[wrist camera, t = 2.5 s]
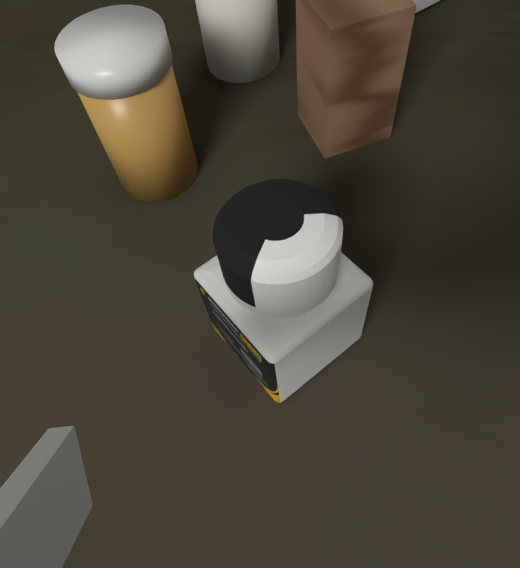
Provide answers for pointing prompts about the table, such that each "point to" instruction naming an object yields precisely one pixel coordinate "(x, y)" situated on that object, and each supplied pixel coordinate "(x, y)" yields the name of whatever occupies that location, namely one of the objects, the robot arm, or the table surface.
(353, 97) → the walnut block
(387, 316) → the table surface
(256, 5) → the white tub
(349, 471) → the table surface
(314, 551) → the table surface
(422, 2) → the photo printer
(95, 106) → the amber jar
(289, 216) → the medicine bottle
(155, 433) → the table surface
